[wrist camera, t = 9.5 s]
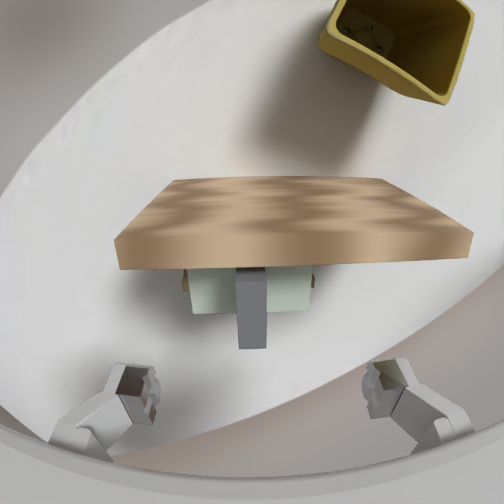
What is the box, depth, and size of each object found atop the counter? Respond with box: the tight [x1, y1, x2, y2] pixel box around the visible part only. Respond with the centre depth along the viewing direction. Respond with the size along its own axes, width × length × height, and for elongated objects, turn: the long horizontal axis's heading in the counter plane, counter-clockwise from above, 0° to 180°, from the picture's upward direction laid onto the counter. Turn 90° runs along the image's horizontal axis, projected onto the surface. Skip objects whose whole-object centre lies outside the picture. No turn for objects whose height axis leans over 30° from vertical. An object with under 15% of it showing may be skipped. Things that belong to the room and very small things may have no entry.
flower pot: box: [317, 0, 474, 106], centre depth 16 cm, size 9×9×9 cm
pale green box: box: [187, 265, 313, 349], centre depth 19 cm, size 7×4×9 cm, turn 91°
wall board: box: [114, 176, 474, 291], centre depth 20 cm, size 18×8×13 cm, turn 91°
